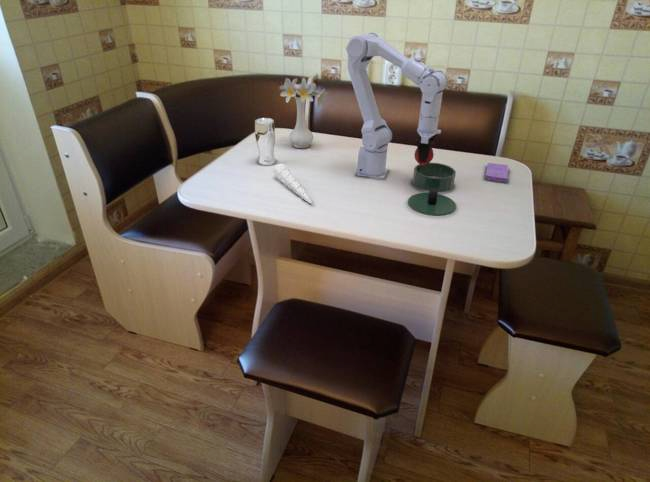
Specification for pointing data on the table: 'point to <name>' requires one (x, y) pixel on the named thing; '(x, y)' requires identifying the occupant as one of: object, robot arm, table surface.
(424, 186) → the pot
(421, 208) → the lid
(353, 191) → the table surface
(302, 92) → the flower vase
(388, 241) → the table surface
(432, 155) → the onion
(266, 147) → the beer glass
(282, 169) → the unicorn horn
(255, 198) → the table surface
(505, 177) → the sponge
